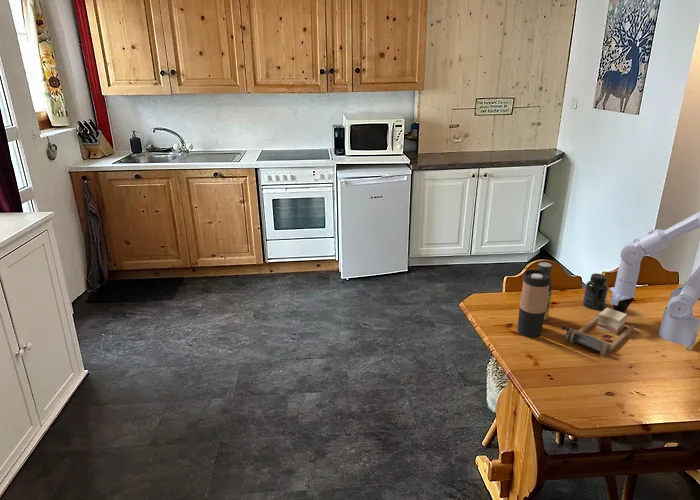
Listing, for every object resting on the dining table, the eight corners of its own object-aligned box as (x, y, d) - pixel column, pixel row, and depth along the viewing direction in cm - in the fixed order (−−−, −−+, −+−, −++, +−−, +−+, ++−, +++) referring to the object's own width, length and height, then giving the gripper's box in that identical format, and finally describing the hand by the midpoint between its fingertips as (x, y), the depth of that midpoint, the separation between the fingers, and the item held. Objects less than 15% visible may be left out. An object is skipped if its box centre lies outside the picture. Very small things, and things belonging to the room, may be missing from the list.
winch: (607, 355, 142) (610, 340, 141) (601, 360, 140) (604, 345, 138) (563, 337, 151) (566, 323, 149) (557, 342, 149) (560, 328, 147)
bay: (632, 332, 154) (635, 322, 153) (608, 355, 142) (610, 345, 141) (597, 319, 162) (599, 310, 160) (571, 340, 150) (573, 330, 148)
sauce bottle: (548, 325, 158) (558, 269, 151) (528, 323, 159) (536, 268, 152) (545, 315, 164) (554, 261, 157) (526, 314, 165) (533, 260, 158)
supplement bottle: (607, 312, 166) (614, 280, 162) (587, 312, 166) (593, 280, 162) (598, 302, 173) (604, 272, 168) (578, 302, 173) (584, 271, 168)
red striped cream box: (624, 327, 155) (627, 314, 153) (616, 334, 151) (619, 320, 149) (604, 320, 159) (607, 307, 157) (596, 327, 155) (599, 313, 153)
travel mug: (514, 334, 153) (522, 276, 146) (518, 323, 160) (526, 267, 152) (540, 340, 150) (549, 281, 143) (543, 329, 156) (552, 272, 149)
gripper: (622, 269, 160) (614, 305, 165) (604, 282, 151) (596, 320, 156) (645, 275, 156) (636, 313, 161) (628, 289, 146) (619, 328, 151)
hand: (618, 317), depth 158 cm, fingers closed
